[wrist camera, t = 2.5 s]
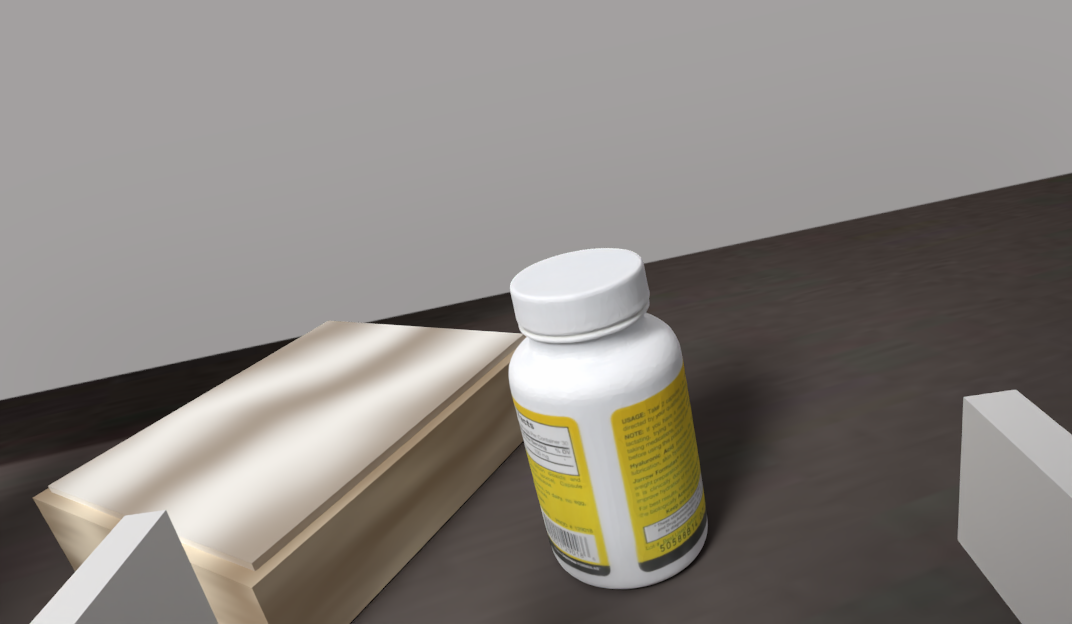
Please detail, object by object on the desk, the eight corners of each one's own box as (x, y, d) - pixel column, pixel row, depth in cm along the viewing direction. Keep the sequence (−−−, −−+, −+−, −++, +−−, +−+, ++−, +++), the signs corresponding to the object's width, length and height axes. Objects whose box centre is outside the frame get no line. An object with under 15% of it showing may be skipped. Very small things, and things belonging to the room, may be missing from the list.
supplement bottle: (704, 480, 26) (668, 228, 23) (715, 592, 21) (671, 293, 18) (561, 491, 28) (504, 253, 24) (540, 600, 23) (465, 320, 19)
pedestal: (556, 406, 34) (538, 329, 32) (294, 681, 22) (247, 579, 20) (350, 379, 41) (329, 316, 40) (74, 570, 29) (29, 491, 28)
